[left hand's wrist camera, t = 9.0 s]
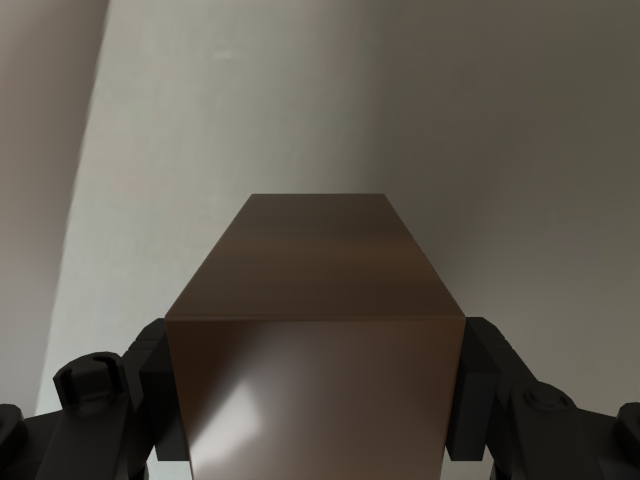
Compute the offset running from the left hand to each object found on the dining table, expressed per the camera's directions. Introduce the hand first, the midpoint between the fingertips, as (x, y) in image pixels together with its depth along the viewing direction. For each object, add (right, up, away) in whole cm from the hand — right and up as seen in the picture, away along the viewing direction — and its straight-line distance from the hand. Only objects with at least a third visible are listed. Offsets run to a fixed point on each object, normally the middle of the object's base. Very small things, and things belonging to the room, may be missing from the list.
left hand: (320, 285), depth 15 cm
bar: (0, -9, +4) cm, 10 cm away
